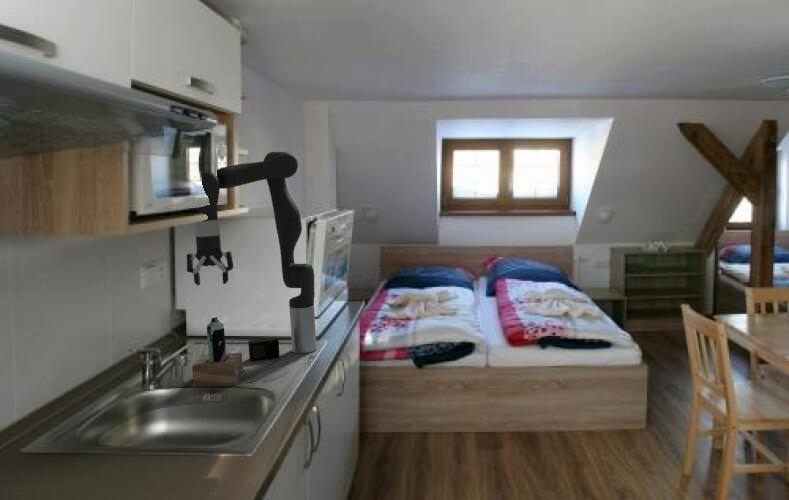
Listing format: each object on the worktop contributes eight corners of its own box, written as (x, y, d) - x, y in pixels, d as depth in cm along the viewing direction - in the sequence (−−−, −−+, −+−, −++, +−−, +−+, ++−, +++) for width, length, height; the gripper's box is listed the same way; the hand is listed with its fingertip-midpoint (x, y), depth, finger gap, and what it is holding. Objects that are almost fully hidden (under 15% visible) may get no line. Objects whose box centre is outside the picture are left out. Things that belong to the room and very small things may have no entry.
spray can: (223, 379, 198) (218, 319, 196) (207, 379, 199) (202, 319, 197) (230, 374, 203) (226, 315, 201) (215, 374, 204) (210, 315, 202)
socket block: (203, 374, 208) (201, 354, 207) (244, 371, 208) (243, 352, 208) (191, 387, 194) (190, 366, 193) (236, 385, 195) (234, 364, 194)
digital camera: (251, 362, 219) (250, 343, 218) (249, 359, 224) (247, 340, 223) (280, 358, 223) (279, 339, 222) (277, 354, 228) (276, 336, 227)
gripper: (232, 232, 200) (236, 281, 202) (188, 234, 199) (192, 283, 201) (227, 234, 192) (231, 285, 194) (181, 236, 192) (186, 287, 194)
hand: (211, 284), depth 198 cm, fingers open, 8 cm apart
